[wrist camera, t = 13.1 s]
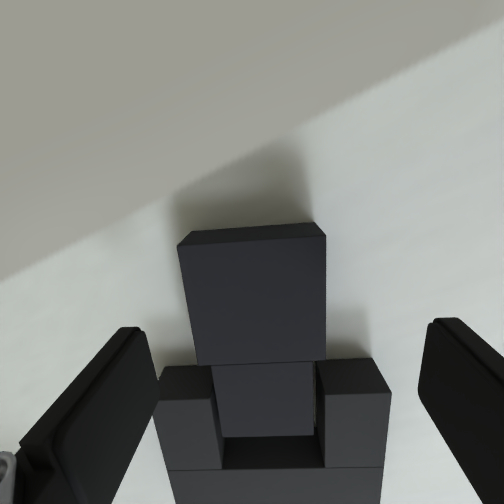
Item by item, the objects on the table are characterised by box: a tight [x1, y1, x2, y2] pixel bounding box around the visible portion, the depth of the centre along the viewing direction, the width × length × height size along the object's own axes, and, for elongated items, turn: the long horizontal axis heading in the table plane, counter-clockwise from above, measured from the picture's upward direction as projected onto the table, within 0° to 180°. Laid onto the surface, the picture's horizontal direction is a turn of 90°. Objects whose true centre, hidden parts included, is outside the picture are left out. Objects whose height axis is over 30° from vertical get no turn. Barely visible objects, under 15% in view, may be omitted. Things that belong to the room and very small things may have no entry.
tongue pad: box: [177, 222, 326, 437], centre depth 16 cm, size 12×7×3 cm, turn 5°
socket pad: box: [152, 358, 392, 504], centre depth 19 cm, size 12×14×3 cm
